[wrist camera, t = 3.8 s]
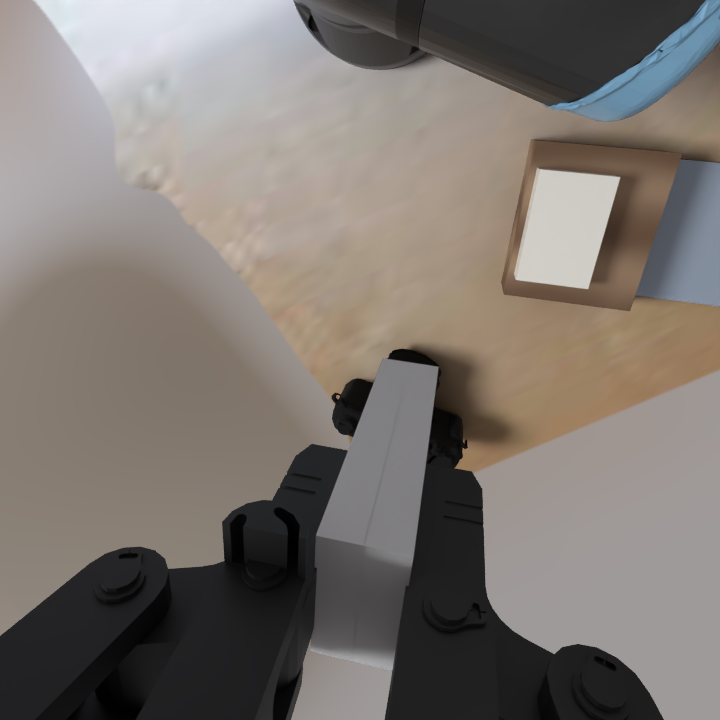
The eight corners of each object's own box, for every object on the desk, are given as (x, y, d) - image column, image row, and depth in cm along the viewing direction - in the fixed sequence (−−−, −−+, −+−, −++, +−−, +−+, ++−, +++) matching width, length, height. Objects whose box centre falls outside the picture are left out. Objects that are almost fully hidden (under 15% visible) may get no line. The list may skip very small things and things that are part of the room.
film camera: (489, 377, 54) (493, 420, 46) (455, 445, 58) (453, 495, 50) (359, 328, 55) (340, 362, 47) (335, 399, 59) (313, 441, 51)
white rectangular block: (537, 167, 41) (540, 169, 39) (613, 174, 40) (620, 177, 38) (513, 273, 45) (515, 279, 43) (583, 282, 44) (588, 289, 42)
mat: (666, 158, 42) (667, 158, 42) (782, 168, 41) (784, 168, 41) (622, 292, 48) (623, 293, 47) (725, 306, 46) (726, 307, 46)
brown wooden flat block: (531, 139, 44) (536, 140, 40) (664, 151, 42) (682, 153, 39) (501, 282, 49) (503, 294, 46) (618, 297, 48) (629, 311, 44)
